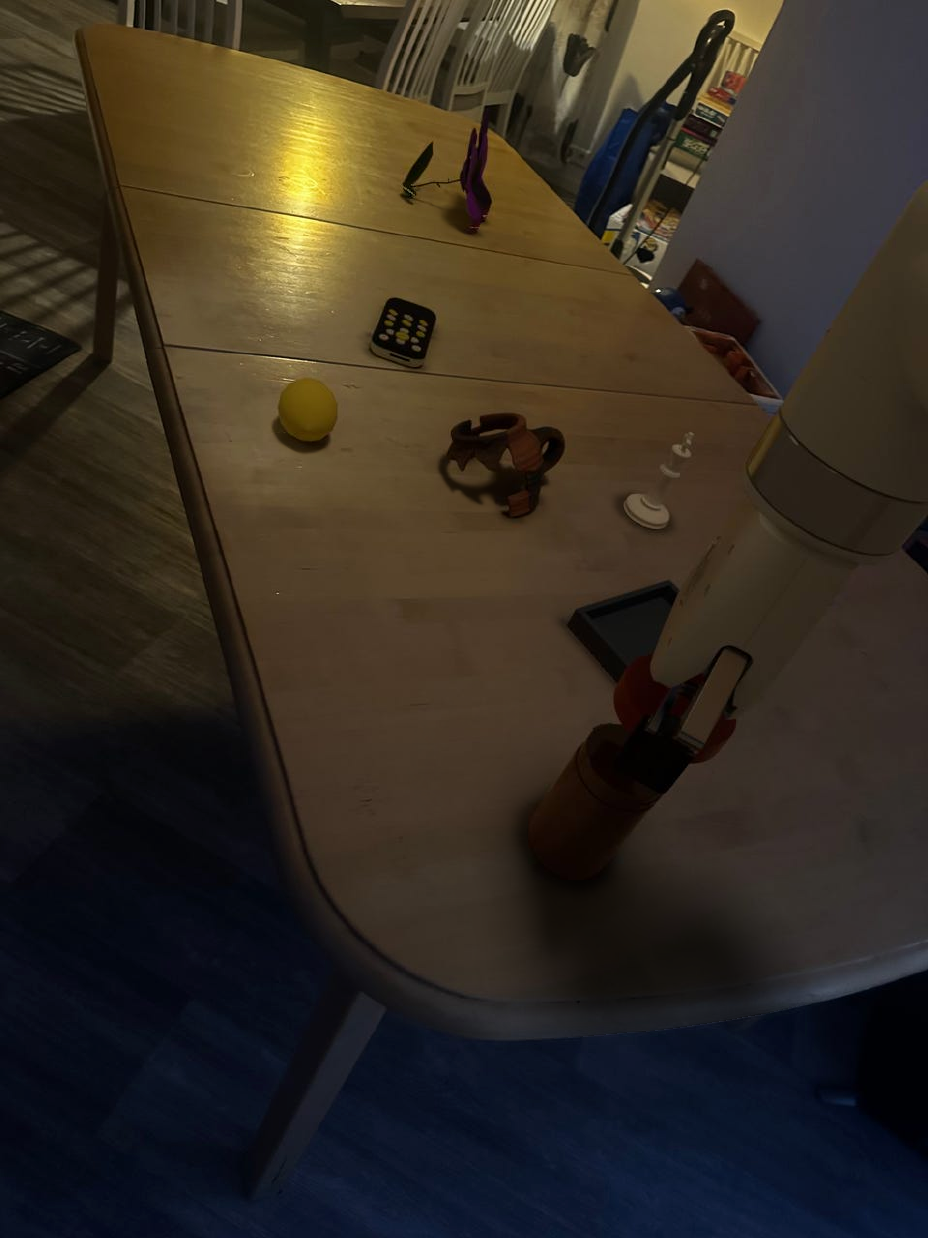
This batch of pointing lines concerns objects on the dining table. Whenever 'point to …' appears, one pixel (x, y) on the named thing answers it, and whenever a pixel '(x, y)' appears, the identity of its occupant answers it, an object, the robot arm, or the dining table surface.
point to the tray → (624, 625)
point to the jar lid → (643, 696)
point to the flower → (463, 174)
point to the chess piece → (658, 490)
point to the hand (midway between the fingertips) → (654, 733)
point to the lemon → (308, 409)
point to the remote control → (403, 332)
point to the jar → (589, 808)
